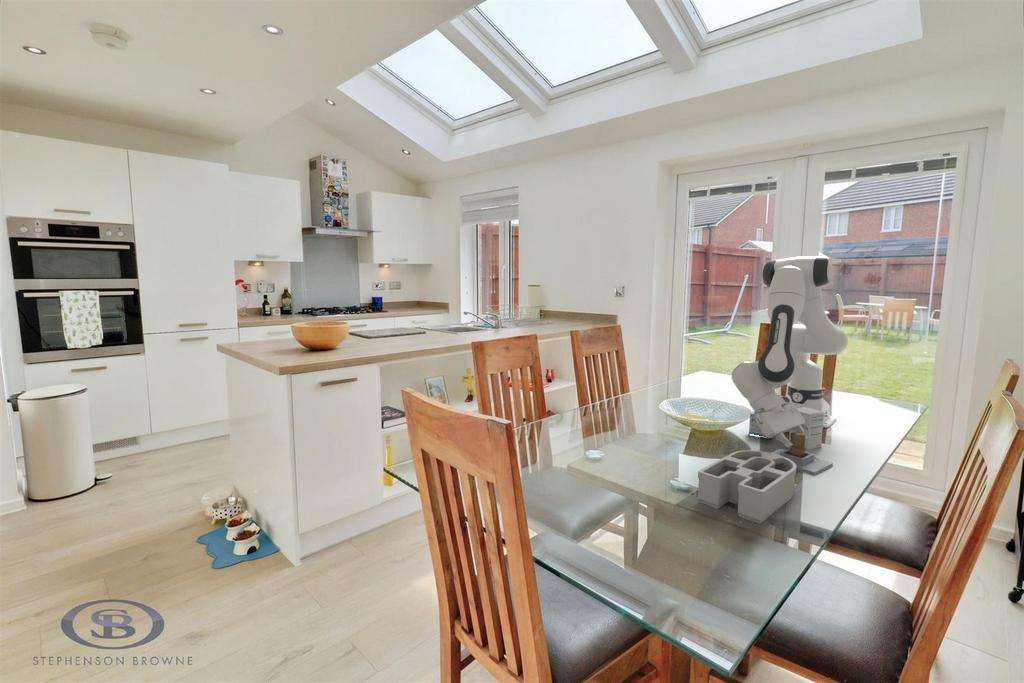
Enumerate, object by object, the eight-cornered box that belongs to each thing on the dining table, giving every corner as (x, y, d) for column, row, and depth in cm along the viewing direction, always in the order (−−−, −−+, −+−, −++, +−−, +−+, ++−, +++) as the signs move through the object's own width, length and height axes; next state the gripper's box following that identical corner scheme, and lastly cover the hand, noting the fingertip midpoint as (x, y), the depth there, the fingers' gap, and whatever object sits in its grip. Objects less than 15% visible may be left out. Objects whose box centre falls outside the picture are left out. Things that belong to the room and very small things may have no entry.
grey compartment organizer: (696, 502, 130) (697, 471, 129) (743, 473, 148) (744, 446, 147) (761, 526, 117) (763, 492, 116) (803, 491, 136) (805, 461, 135)
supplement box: (787, 443, 173) (790, 408, 171) (802, 440, 176) (804, 406, 174) (807, 450, 166) (810, 413, 165) (822, 446, 169) (825, 411, 167)
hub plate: (780, 451, 165) (780, 442, 165) (832, 466, 152) (833, 456, 152) (761, 459, 158) (761, 450, 158) (814, 475, 146) (815, 465, 145)
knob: (793, 455, 158) (794, 431, 157) (806, 459, 155) (808, 434, 154) (786, 458, 156) (788, 433, 155) (800, 462, 153) (801, 437, 151)
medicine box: (748, 436, 181) (749, 413, 179) (749, 433, 185) (750, 410, 183) (772, 439, 177) (774, 416, 176) (772, 436, 181) (774, 413, 180)
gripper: (759, 406, 153) (789, 445, 147) (791, 396, 165) (820, 431, 158) (744, 417, 157) (773, 455, 151) (776, 406, 169) (805, 441, 162)
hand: (797, 443), depth 155 cm, fingers open, 8 cm apart
